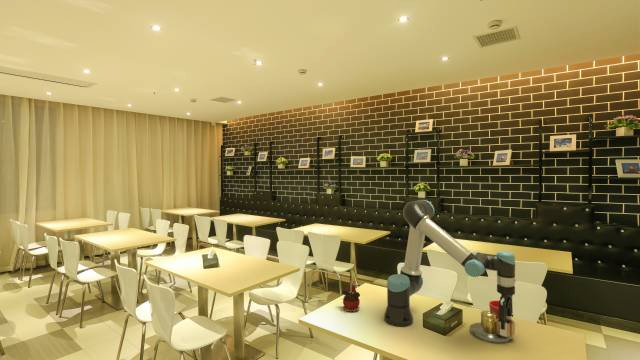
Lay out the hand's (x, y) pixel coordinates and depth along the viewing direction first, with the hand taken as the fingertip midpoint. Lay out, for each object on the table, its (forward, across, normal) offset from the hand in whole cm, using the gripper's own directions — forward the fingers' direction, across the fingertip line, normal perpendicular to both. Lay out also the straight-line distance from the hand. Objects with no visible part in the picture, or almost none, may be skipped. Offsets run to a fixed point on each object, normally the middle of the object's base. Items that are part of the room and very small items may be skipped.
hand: (505, 332), depth 157 cm
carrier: (+3, 0, +7) cm, 8 cm away
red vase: (+3, -23, +75) cm, 79 cm away
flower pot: (+3, +17, +7) cm, 19 cm away
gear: (0, 0, 0) cm, 0 cm away
